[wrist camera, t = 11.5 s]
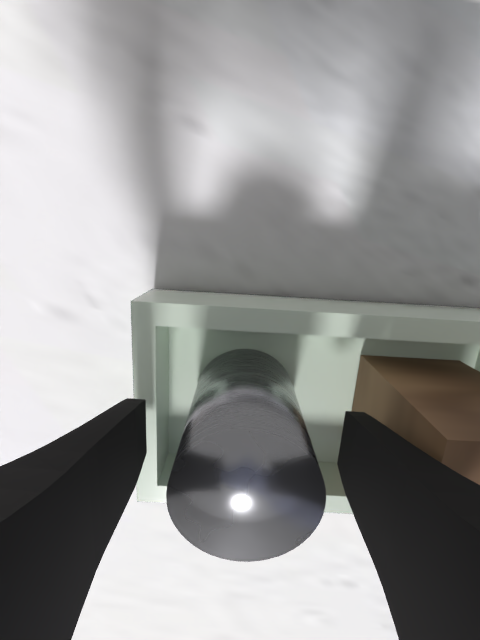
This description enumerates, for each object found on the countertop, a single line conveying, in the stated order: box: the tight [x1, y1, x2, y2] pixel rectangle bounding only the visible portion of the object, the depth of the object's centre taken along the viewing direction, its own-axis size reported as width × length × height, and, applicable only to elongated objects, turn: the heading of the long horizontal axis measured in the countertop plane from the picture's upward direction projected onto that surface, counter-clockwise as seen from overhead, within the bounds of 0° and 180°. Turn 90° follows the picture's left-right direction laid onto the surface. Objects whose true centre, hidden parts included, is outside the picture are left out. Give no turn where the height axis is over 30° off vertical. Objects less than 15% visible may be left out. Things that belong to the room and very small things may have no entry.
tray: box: [131, 289, 480, 514], centre depth 13 cm, size 14×8×2 cm, turn 87°
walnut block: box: [352, 355, 480, 485], centre depth 11 cm, size 4×4×6 cm
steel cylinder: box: [166, 349, 326, 562], centre depth 11 cm, size 4×4×6 cm
